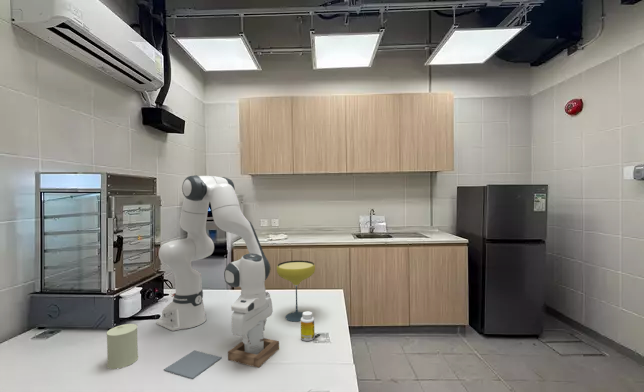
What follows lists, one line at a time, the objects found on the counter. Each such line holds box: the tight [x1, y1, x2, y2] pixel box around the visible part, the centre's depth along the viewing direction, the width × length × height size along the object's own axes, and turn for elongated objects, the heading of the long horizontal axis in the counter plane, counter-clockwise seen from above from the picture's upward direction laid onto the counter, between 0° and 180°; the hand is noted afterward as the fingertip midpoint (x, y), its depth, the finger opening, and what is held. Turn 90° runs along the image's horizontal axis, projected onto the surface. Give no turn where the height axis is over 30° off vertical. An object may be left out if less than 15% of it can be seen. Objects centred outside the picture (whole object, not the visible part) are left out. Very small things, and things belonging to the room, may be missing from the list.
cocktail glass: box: [276, 260, 316, 323], centre depth 141 cm, size 18×18×25 cm
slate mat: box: [163, 350, 222, 380], centre depth 102 cm, size 13×13×1 cm
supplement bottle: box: [300, 311, 315, 342], centre depth 119 cm, size 6×6×10 cm
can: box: [106, 323, 139, 370], centre depth 105 cm, size 9×9×12 cm
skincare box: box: [245, 320, 265, 355], centre depth 108 cm, size 6×4×12 cm
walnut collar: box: [227, 337, 280, 368], centre depth 108 cm, size 13×13×3 cm
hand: (254, 336), depth 108 cm, fingers open, 8 cm apart
